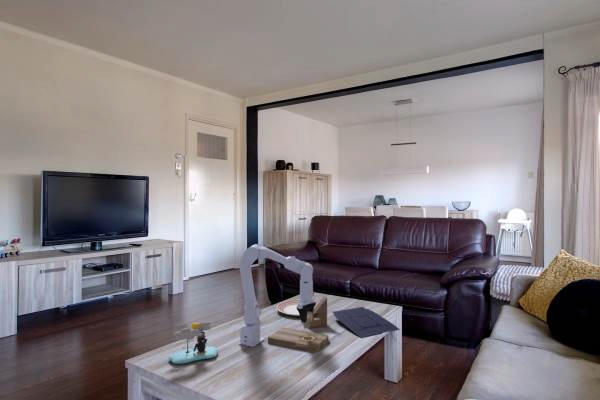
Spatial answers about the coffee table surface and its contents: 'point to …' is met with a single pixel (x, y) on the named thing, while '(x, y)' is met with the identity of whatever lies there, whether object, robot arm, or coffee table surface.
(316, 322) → the wooden block
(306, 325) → the beige cylinder
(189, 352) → the penguin figurine
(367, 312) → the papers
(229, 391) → the coffee table surface
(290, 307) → the dinner plate
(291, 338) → the board
